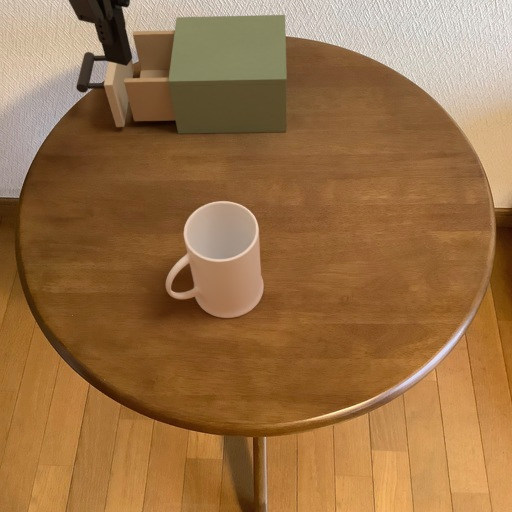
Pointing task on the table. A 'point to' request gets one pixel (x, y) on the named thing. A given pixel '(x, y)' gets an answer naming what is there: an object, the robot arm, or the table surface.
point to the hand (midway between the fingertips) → (119, 59)
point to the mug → (222, 259)
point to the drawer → (137, 79)
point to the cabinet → (229, 74)
